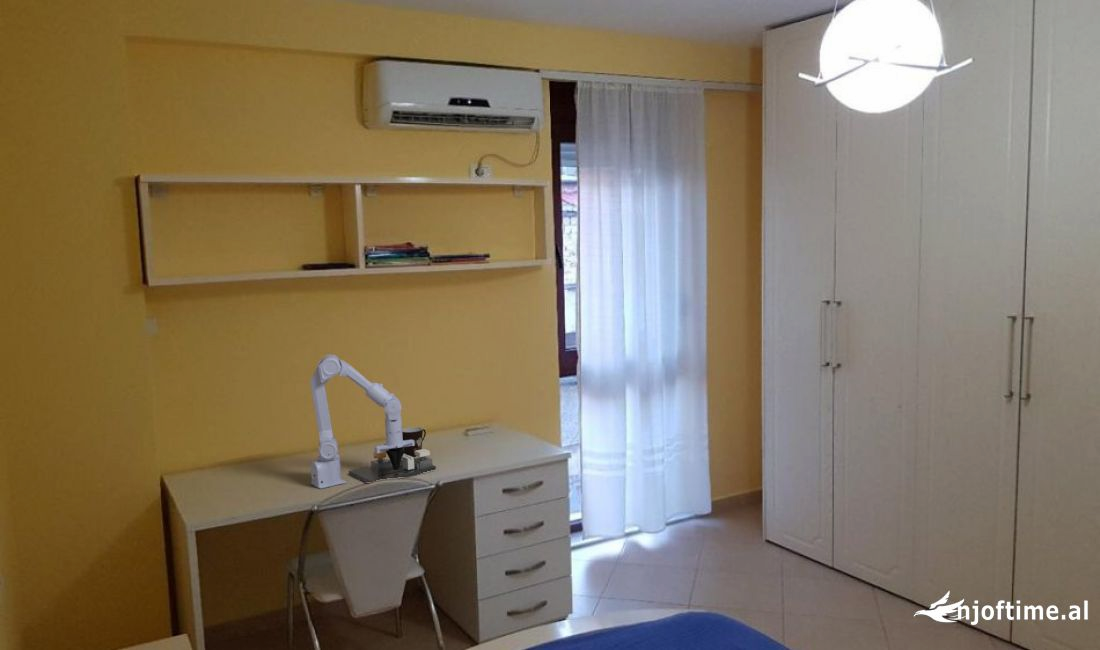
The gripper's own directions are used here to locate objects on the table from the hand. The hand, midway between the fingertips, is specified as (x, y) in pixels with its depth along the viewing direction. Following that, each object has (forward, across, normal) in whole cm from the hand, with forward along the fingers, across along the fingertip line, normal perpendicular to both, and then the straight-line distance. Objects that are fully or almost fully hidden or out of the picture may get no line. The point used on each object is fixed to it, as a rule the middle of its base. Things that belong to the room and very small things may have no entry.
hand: (396, 469), depth 290 cm
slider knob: (+1, +5, 0) cm, 5 cm away
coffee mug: (+3, +20, +21) cm, 29 cm away
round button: (-1, -2, +9) cm, 9 cm away
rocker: (-1, +6, +9) cm, 11 cm away
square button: (-1, +10, 0) cm, 11 cm away
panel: (+2, +1, +5) cm, 6 cm away
